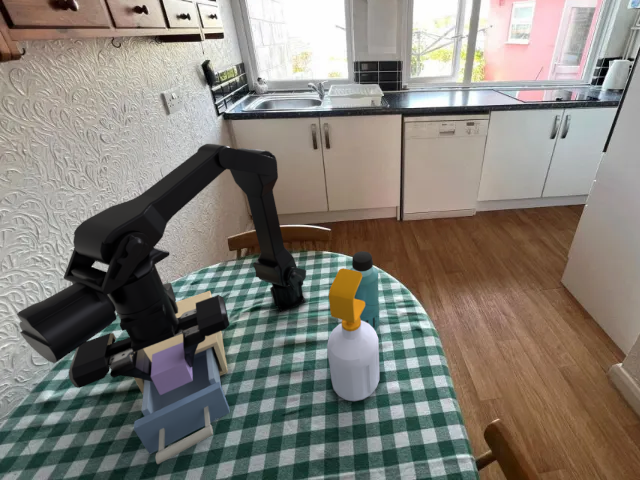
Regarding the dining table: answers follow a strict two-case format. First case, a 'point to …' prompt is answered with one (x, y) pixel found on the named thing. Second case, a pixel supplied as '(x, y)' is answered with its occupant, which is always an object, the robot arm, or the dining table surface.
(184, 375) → the purple cube
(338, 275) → the spray bottle
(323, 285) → the dining table surface
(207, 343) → the drawer cabinet
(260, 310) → the dining table surface
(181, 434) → the blue drawer
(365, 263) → the beverage bottle
